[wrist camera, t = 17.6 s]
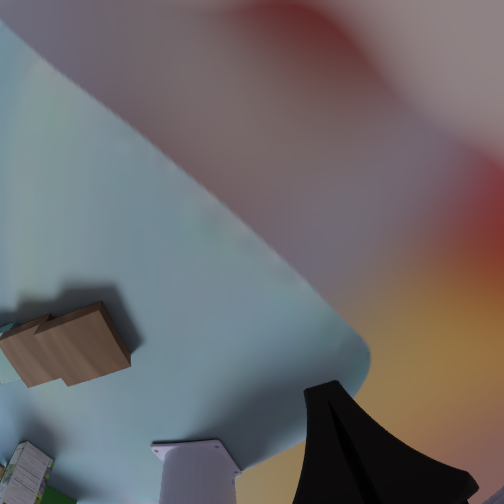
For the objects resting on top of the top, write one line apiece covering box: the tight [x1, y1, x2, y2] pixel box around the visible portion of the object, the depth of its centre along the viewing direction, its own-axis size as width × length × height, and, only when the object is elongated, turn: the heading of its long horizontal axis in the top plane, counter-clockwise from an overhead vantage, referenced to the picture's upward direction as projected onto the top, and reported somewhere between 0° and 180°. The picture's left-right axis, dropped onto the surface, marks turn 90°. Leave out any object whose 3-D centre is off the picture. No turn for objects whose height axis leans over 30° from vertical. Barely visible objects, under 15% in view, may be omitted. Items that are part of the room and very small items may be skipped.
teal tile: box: [0, 322, 21, 384], centre depth 18 cm, size 2×5×6 cm
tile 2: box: [0, 313, 61, 388], centre depth 18 cm, size 2×5×6 cm
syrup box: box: [0, 441, 55, 504], centre depth 20 cm, size 6×6×14 cm
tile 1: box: [33, 301, 131, 386], centre depth 18 cm, size 2×5×6 cm
